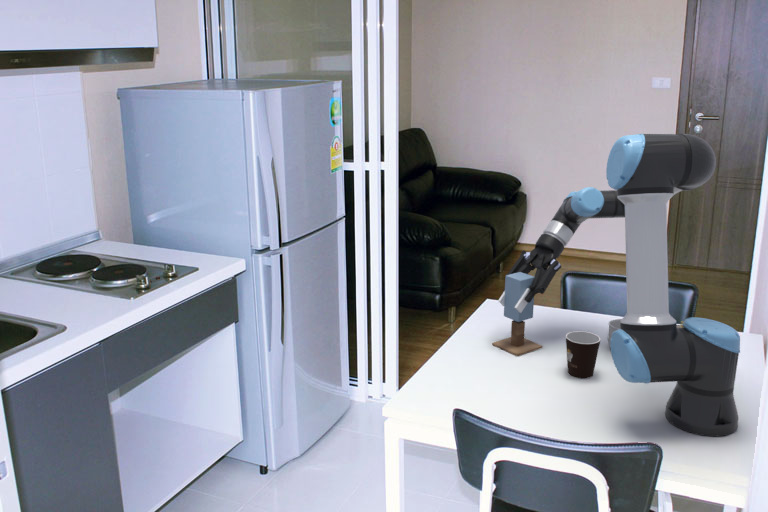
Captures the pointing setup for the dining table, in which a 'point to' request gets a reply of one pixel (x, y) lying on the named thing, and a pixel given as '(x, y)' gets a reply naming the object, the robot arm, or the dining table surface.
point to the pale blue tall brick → (517, 296)
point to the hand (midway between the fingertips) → (509, 306)
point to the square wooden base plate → (517, 341)
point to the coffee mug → (581, 353)
